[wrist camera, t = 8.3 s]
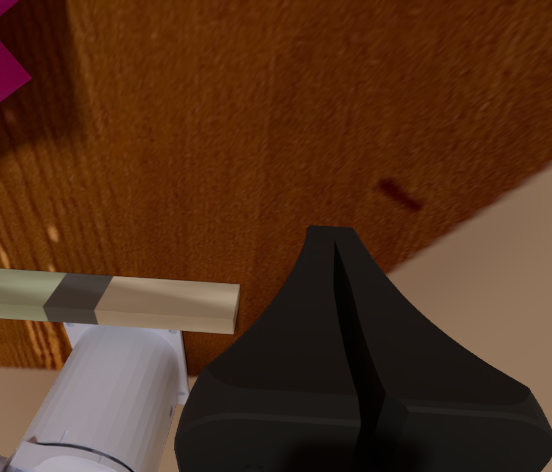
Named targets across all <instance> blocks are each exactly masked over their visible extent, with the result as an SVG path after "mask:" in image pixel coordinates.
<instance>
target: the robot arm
mask: <svg viewBox="0 0 552 472" xmlns="http://www.w3.org/2000/svg"><path fill="white" fill-rule="evenodd" d="M63 324H64V326H65V329H66V332H67V335H68V337H69V340H70V343H71V346H72V348H73V351H72V352H71V354H70V356H69V358H68V359H67V361H66V363H65V365H64V366H63V368H62V370H61V372H60V373H59V375H58V377H57V379H56V381H55V382H54V384H53V386H52V388H51V389H50V391H49V393H48V395H47V396H46V398H45V400H44V401H43V403H42V405H41V407H40V408H39V410H38V412H37V414H36V416H35V417H34V419H33V421H32V423H31V424H30V426H29V428H28V430H27V431H26V433H25V435H24V437H23V438H22V440H21V442H20V444H19V445H18V447H17V449H16V450H15V451H14V453H13V454H12V455H11V457H10V458H9V459H8V460H7V458H6V457H3V456H0V472H158V469H159V466H160V462H161V458H162V455H163V451H164V447H165V444H166V440H167V436H168V433H169V429H170V426H171V422H172V418H173V415H174V411H175V408H176V404H178V405H185V406H184V408H183V411H182V414H181V417H180V421H179V425H178V428H177V432H176V436H175V443H174V450H175V454H176V459H177V464H178V468H179V472H541V471H542V470H543V468H544V467H545V466H546V465H547V463H548V462H549V461H550V459H551V457H552V429H551V426H550V425H549V422H548V420H547V418H546V417H545V414H544V412H543V410H542V409H541V407H540V405H539V403H538V402H537V400H536V399H535V397H534V395H533V394H532V393H531V390H530V389H529V388H528V387H527V386H525V385H523V384H522V383H520V382H518V381H516V380H515V379H513V378H511V377H509V376H508V375H506V374H505V373H503V372H501V371H499V370H498V369H496V368H494V367H493V366H491V365H489V364H488V363H486V362H485V361H483V360H482V359H480V358H478V357H477V356H476V355H474V354H473V353H471V352H470V351H468V350H467V349H465V348H464V347H463V346H461V345H460V344H459V343H457V342H456V341H454V340H453V339H452V338H450V337H449V336H448V335H447V334H445V333H444V332H443V331H442V330H440V329H439V328H438V327H437V326H435V325H434V324H433V323H432V322H430V320H428V319H427V318H426V317H425V316H424V315H423V314H421V312H419V311H418V310H417V309H416V308H415V307H414V306H413V305H412V304H411V303H410V302H409V301H408V300H407V299H406V298H405V297H404V296H403V295H402V294H401V293H400V291H399V290H398V289H397V288H396V287H395V286H394V285H393V283H392V282H391V281H390V280H389V278H388V277H387V276H386V275H385V274H384V272H383V271H382V270H381V268H380V267H379V266H378V264H377V263H376V262H375V260H374V259H373V258H372V256H371V255H370V253H369V252H368V250H367V249H366V247H365V246H364V244H363V243H362V241H361V240H360V238H359V237H358V235H357V233H356V232H355V230H354V229H353V228H349V227H331V226H313V225H311V226H309V227H308V228H307V232H306V239H305V242H304V245H303V248H302V250H301V253H300V255H299V257H298V259H297V261H296V264H295V266H294V268H293V269H292V271H291V273H290V275H289V276H288V278H287V280H286V282H285V283H284V285H283V286H282V288H281V289H280V291H279V292H278V294H277V295H276V297H275V298H274V299H273V301H272V302H271V304H270V305H269V306H268V307H267V308H266V310H265V311H264V312H263V313H262V315H261V316H260V317H259V318H258V319H257V320H256V321H255V323H254V324H253V325H252V326H251V327H250V328H249V329H248V330H247V331H246V332H245V333H244V334H243V335H242V336H241V337H240V338H239V339H237V340H236V341H235V342H234V343H233V344H232V345H231V346H230V347H229V348H228V349H227V350H225V351H224V352H223V353H222V354H220V355H219V356H218V357H217V358H215V359H214V360H213V361H212V362H210V363H209V364H208V365H206V366H205V367H204V368H203V369H202V371H201V373H200V375H199V377H198V378H197V380H196V382H195V384H194V386H193V388H192V390H191V392H190V391H189V383H188V375H187V367H186V360H185V352H184V344H183V337H182V330H167V329H152V328H138V327H123V326H109V325H94V324H79V323H65V322H63ZM6 461H7V462H6Z"/></svg>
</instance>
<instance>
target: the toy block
mask: <svg viewBox="0 0 552 472" xmlns="http://www.w3.org/2000/svg"><path fill="white" fill-rule="evenodd" d="M17 1H19V0H0V16H1V15H2V14H3V13H5V12H6V11H7V10H8V9H9V8H10V7H12V6H13V5H14V4H15V3H16V2H17ZM30 79H32V77H31V76H30V75H29V74H28V73H27V71H26V70H25V69H24V68H23V67H22V66H21V64H20V63H19V62H18V61H17V60H16V59H15V57H14V56H13V55H12V54H11V53H10V52H9V51H8V49H7V48H6V47H5V46H4V45H3V44H2V42H1V41H0V102H1V101H2V100H4V99H5V98H6V97H8V96H9V95H10V94H12V93H13V92H14V91H16V90H17V89H18V88H20V87H21V86H22V85H24V84H25V83H26V82H28V81H29V80H30Z"/></svg>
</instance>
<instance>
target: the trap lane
mask: <svg viewBox="0 0 552 472" xmlns="http://www.w3.org/2000/svg"><path fill="white" fill-rule="evenodd" d="M239 300H240V285H239V284H224V283H209V282H194V281H179V280H164V279H148V278H133V277H118V276H103V275H88V274H73V273H58V272H43V271H27V270H12V269H0V318H6V319H21V320H36V321H50V322H65V323H79V324H94V325H109V326H123V327H138V328H152V329H167V330H182V331H196V332H211V333H225V334H234V328H235V323H236V317H237V312H238V306H239Z"/></svg>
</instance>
